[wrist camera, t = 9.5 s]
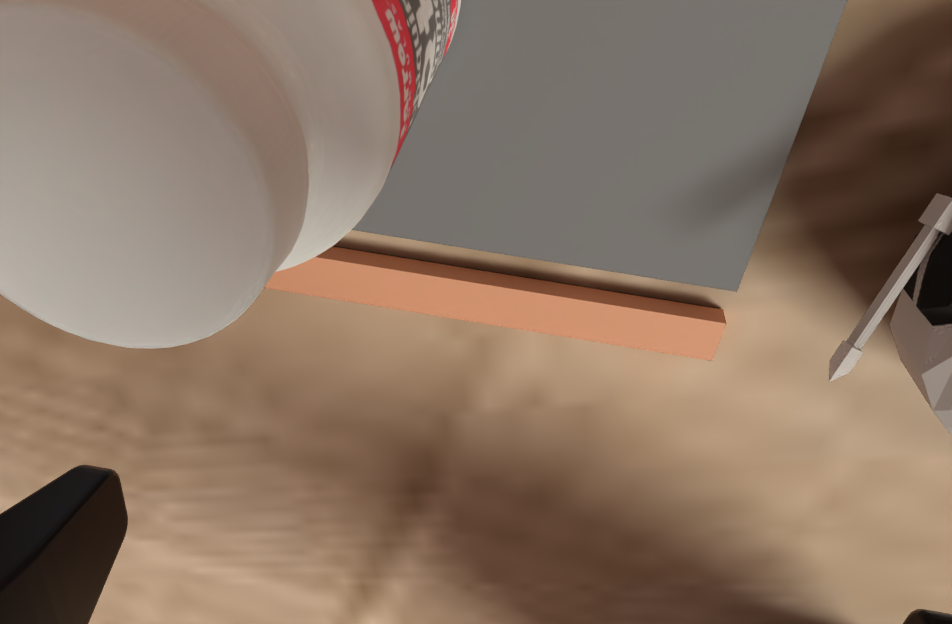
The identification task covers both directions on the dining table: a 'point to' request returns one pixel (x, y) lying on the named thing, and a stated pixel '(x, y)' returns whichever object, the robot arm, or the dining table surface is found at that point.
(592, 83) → the mat
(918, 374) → the robot toy
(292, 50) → the pill bottle
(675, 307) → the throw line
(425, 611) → the dining table surface
